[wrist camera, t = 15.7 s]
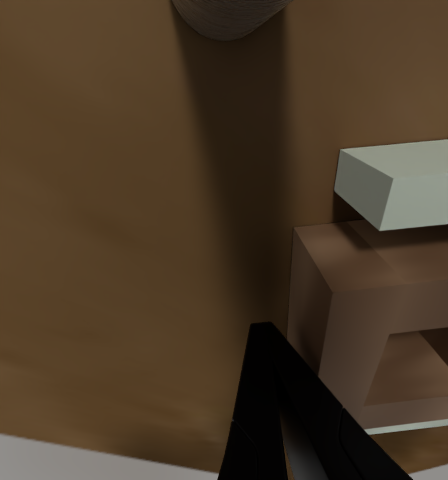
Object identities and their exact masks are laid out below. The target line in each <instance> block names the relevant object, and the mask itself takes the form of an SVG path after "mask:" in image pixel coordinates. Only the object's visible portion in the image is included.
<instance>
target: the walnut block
mask: <svg viewBox="0 0 448 480" xmlns="http://www.w3.org/2000/svg"><path fill="white" fill-rule="evenodd" d="M287 340H288V342H289V343H290V344H291V345H292V346H293V347H294V349H295V350H296V351H297V352H298V353H299V355H300V356H301V357H302V358H303V359H304V360H305V362H306V363H307V364H308V365H309V366H310V367H311V369H312V370H313V371H314V372H315V373H316V375H317V376H318V377H319V378H320V379H321V380H322V382H323V383H324V384H325V385H326V386H327V387H328V389H329V390H330V391H331V392H332V393H333V394H334V396H335V397H336V398H337V399H338V400H339V402H340V403H341V404H342V405H343V408H346V410H347V411H348V412H349V413H350V414H351V415H352V417H353V418H354V419H355V420H356V421H357V422H358V424H359V425H360V426H361V427H362V428H363V429H372V428H380V427H388V426H396V425H404V424H412V423H420V422H428V421H436V420H444V419H448V224H443V225H434V226H424V227H414V228H404V229H394V230H384V231H379V230H378V229H377V228H376V227H374V226H373V225H372V224H371V223H370V222H369V221H368V220H366V219H364V220H355V221H346V222H337V223H328V224H319V225H310V226H301V227H294V228H293V245H292V262H291V279H290V295H289V312H288V329H287Z"/></svg>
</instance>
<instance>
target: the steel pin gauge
mask: <svg viewBox="0 0 448 480" xmlns="http://www.w3.org/2000/svg"><path fill="white" fill-rule="evenodd" d="M292 1H293V0H172V2H173V4H174V6H175V8H176V10H177V11H178V13H179V14H180V16H181V17H182V18H183V19H184V21H185V22H186V23H187V24H188V25H189V26H190V27H191V28H192V29H193V30H195V31H196V32H198V33H199V34H201V35H203V36H205V37H207V38H210V39H213V40H218V41H231V40H236V39H239V38H242V37H244V36H246V35H248V34H250V33H251V32H252V31H254V30H255V29H256V28H258V27H259V26H260V25H262V24H263V23H264V22H266V21H267V20H268V19H269V18H271V17H272V16H273V15H275V14H276V13H277V12H279V11H280V10H281V9H282V8H284V7H285V6H286V5H288V4H289V3H290V2H292Z"/></svg>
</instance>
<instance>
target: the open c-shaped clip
mask: <svg viewBox="0 0 448 480" xmlns="http://www.w3.org/2000/svg"><path fill="white" fill-rule="evenodd" d="M334 191H335V192H336V193H337V194H338V195H339V196H340V197H342V198H343V199H344V200H345V201H346V202H347V203H348V204H349V205H351V206H352V207H353V208H354V209H355V210H356V211H357V212H359V213H360V214H361V215H362V216H363V217H364V218H365V219H366V220H368V221H369V222H370V223H371V224H372V225H373V226H374V227H376V228H377V229H378V230H379V231H384V230H394V229H404V228H414V227H424V226H434V225H443V224H448V139H446V140H436V141H425V142H414V143H403V144H393V145H382V146H371V147H361V148H350V149H340V155H339V161H338V168H337V174H336V181H335V187H334ZM446 425H448V419H444V420H436V421H428V422H420V423H412V424H404V425H396V426H388V427H380V428H372V429H364V430H365V431H366V432H367V434H368V435H370V434H379V433H387V432H396V431H404V430H413V429H421V428H430V427H438V426H446Z"/></svg>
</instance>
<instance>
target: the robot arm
mask: <svg viewBox="0 0 448 480" xmlns="http://www.w3.org/2000/svg"><path fill="white" fill-rule="evenodd" d="M283 441H284V445H285V448H286V451H287V455H288V458H289V462H290V465H291V468H292V472H293V475H294V479H295V480H413V479H412V478H411V477H410V476H409V475H408V474H407V473H406V472H405V471H404V470H403V469H402V468H401V467H400V466H399V465H398V464H397V463H396V462H395V461H394V460H393V459H392V458H391V457H390V456H389V455H388V454H387V453H386V452H385V451H384V450H383V449H382V448H381V447H380V446H379V445H378V444H377V443H376V442H375V441H374V440H373V439H372V438H371V437H370V436H369V435H368V434H367V432H366V431H365V430H364V429H363V428H362V427H361V426H360V425H359V424H358V422H357V421H356V420H355V419H354V418H353V417H352V415H351V414H350V413H349V412H348V411H347V410H346V408H343V405H342V404H341V403H340V402H339V400H338V399H337V398H336V397H335V396H334V394H333V393H332V392H331V391H330V390H329V389H328V387H327V386H326V385H325V384H324V383H323V382H322V380H321V379H320V378H319V377H318V376H317V375H316V373H315V372H314V371H313V370H312V369H311V367H310V366H309V365H308V364H307V363H306V362H305V360H304V359H303V358H302V357H301V356H300V355H299V353H298V352H297V351H296V350H295V349H294V347H293V346H292V345H291V344H290V343H289V342H288V340H287V339H286V338H285V337H284V336H283V335H282V333H281V332H280V331H279V330H278V329H277V328H276V326H275V325H274V324H273V323H272V322H262V323H252V324H251V325H250V329H249V334H248V339H247V345H246V350H245V355H244V360H243V365H242V370H241V376H240V381H239V386H238V391H237V396H236V402H235V407H234V412H233V417H232V422H231V427H230V432H229V437H228V441H227V446H226V450H225V455H224V458H223V462H222V465H221V469H220V472H219V476H218V479H217V480H288V476H287V469H286V461H285V453H284V445H283Z"/></svg>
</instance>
